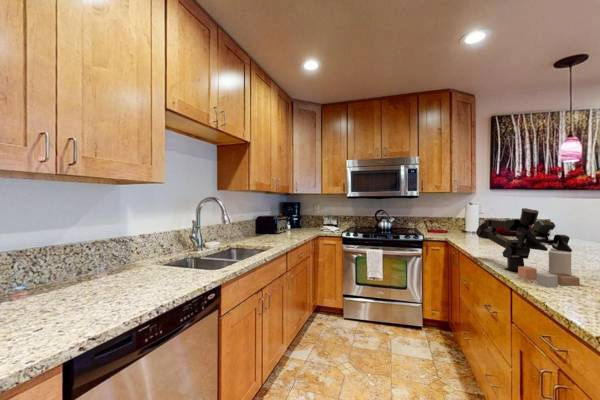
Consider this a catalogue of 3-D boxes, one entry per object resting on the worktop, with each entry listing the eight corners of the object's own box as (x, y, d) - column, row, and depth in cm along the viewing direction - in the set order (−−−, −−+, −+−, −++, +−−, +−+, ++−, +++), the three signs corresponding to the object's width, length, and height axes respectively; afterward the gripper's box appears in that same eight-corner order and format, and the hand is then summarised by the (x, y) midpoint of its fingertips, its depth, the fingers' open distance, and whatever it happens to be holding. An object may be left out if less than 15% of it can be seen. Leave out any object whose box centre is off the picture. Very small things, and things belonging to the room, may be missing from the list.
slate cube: (536, 284, 113) (536, 273, 113) (545, 283, 114) (545, 272, 114) (548, 288, 109) (548, 276, 109) (557, 287, 109) (557, 275, 109)
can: (551, 275, 125) (551, 249, 125) (546, 271, 131) (546, 246, 131) (574, 277, 121) (574, 250, 121) (567, 273, 128) (567, 247, 128)
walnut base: (546, 281, 118) (546, 273, 118) (563, 281, 118) (563, 272, 118) (561, 286, 111) (561, 277, 111) (579, 286, 111) (579, 277, 111)
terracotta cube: (518, 276, 125) (518, 266, 125) (528, 276, 125) (528, 266, 124) (526, 279, 120) (526, 269, 120) (536, 279, 120) (536, 269, 120)
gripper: (513, 216, 122) (540, 230, 108) (557, 218, 122) (591, 233, 107) (507, 239, 126) (532, 256, 111) (549, 241, 125) (581, 258, 110)
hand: (559, 250), depth 110 cm, fingers open, 9 cm apart
